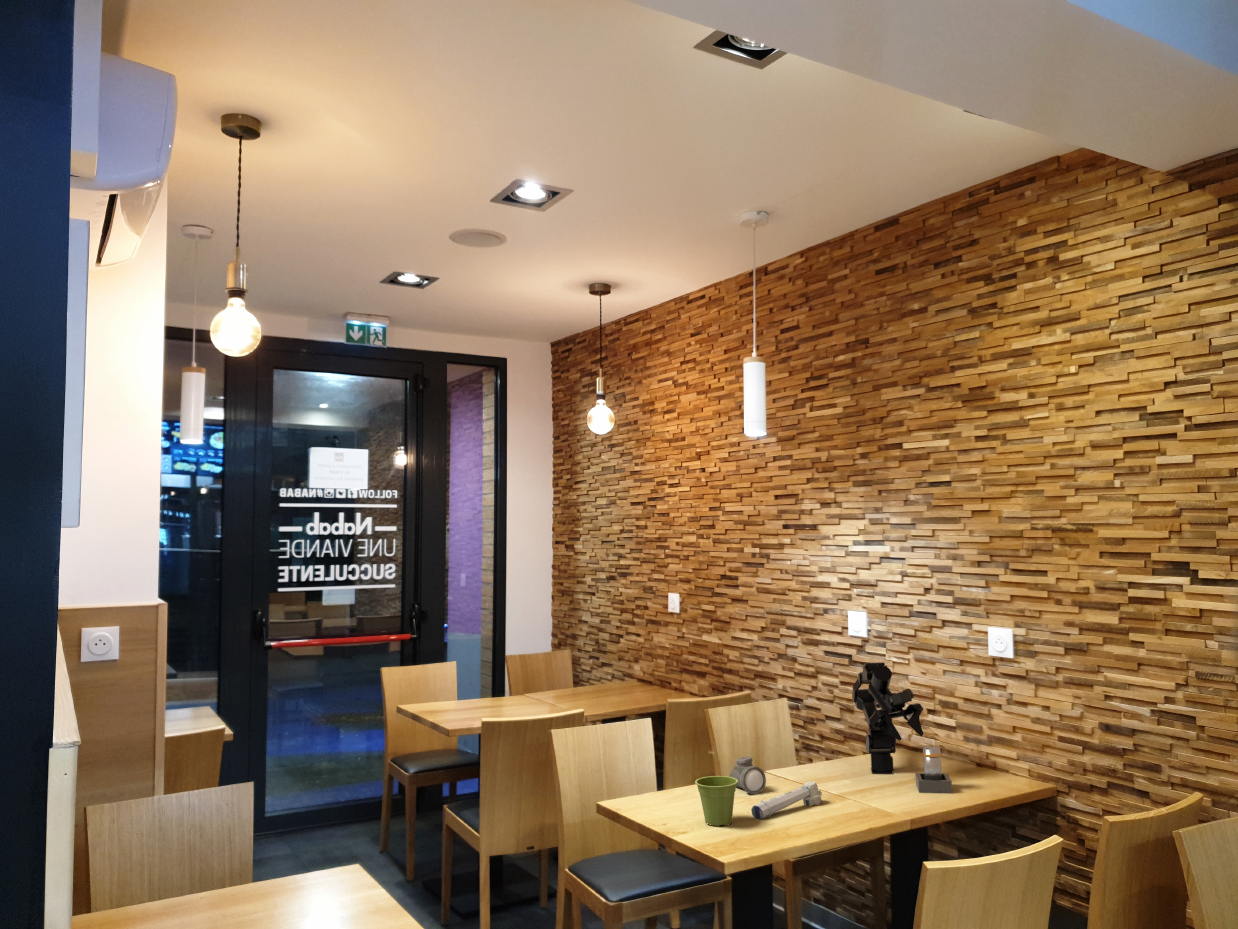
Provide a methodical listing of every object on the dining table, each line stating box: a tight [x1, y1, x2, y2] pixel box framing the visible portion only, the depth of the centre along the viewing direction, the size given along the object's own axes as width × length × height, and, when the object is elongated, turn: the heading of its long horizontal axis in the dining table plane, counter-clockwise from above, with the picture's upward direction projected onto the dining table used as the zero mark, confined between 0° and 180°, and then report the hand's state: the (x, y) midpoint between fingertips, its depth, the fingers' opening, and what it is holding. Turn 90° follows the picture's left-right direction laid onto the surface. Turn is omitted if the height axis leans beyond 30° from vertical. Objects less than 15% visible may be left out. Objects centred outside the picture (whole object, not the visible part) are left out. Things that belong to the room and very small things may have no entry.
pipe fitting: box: [728, 756, 767, 795], centre depth 285 cm, size 12×8×10 cm, turn 21°
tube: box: [922, 745, 943, 780], centre depth 278 cm, size 5×5×12 cm
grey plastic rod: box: [750, 780, 823, 821], centre depth 262 cm, size 5×7×25 cm
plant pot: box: [694, 775, 738, 827], centre depth 253 cm, size 12×12×11 cm
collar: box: [914, 772, 953, 794], centre depth 278 cm, size 9×9×4 cm
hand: (911, 737), depth 286 cm, fingers open, 9 cm apart
